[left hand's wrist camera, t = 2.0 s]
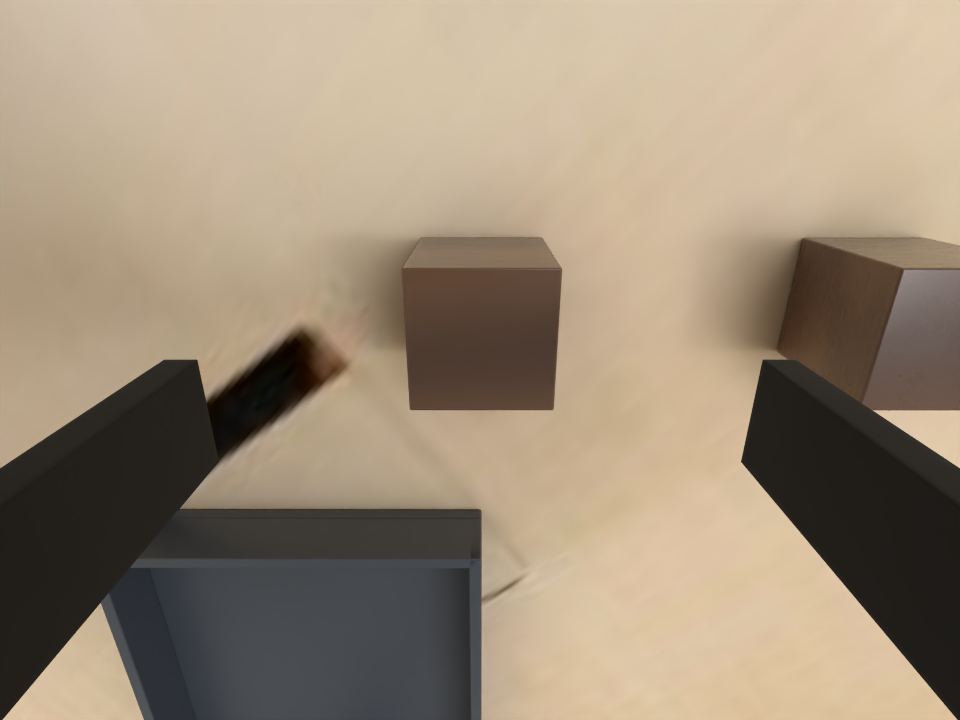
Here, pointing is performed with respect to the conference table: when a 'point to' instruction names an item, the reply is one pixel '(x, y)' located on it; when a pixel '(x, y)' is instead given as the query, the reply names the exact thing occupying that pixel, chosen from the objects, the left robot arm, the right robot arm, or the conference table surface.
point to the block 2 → (879, 320)
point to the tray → (304, 616)
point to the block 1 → (481, 323)
